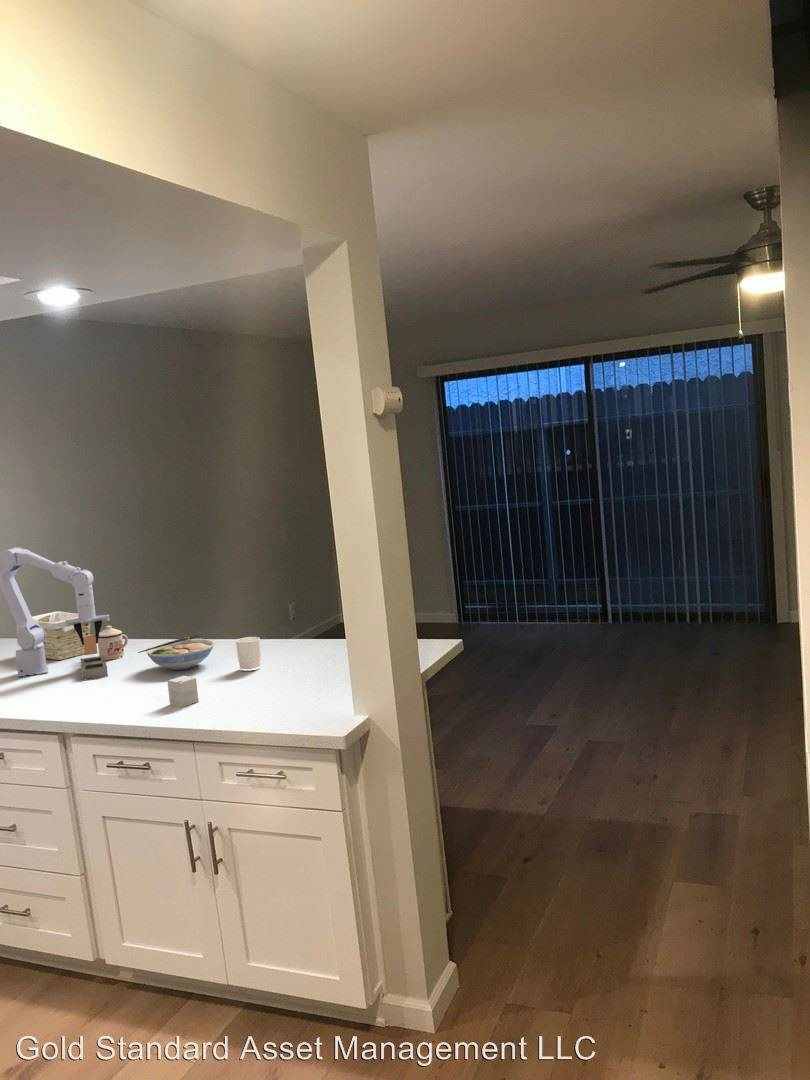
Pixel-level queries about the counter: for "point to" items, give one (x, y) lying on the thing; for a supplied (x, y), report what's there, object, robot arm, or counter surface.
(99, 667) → the grey slotted board
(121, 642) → the teacup with lid
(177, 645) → the ramen bowl
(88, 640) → the orange brown block
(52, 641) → the storage basket
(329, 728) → the counter surface
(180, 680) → the skincare box
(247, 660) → the white cup
